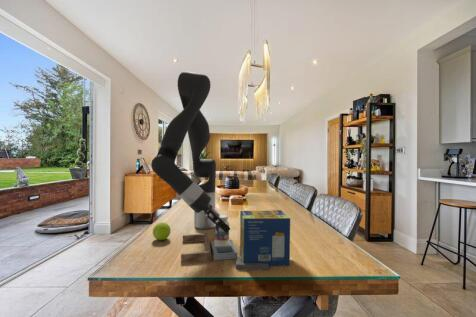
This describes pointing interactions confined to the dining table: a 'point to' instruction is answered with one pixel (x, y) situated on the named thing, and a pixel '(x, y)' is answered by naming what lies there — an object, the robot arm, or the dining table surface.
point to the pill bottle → (221, 230)
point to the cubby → (196, 255)
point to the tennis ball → (161, 231)
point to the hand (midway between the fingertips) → (227, 228)
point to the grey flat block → (251, 265)
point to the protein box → (265, 237)
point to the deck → (223, 250)
